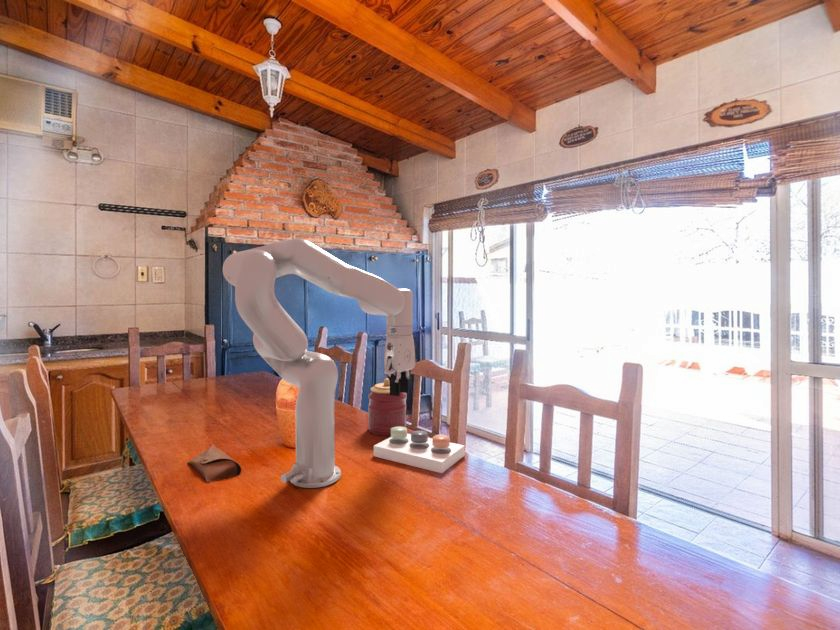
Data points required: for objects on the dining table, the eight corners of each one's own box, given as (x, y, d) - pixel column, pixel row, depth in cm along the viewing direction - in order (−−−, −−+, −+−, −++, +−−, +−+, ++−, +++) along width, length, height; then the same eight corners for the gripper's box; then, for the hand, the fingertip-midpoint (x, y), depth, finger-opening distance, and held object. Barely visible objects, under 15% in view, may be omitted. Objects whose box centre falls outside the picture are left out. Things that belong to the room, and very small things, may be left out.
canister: (386, 439, 138) (386, 384, 137) (359, 430, 146) (359, 378, 145) (414, 429, 147) (414, 378, 146) (388, 421, 156) (388, 373, 155)
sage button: (401, 439, 124) (401, 432, 124) (387, 436, 126) (387, 429, 126) (410, 434, 128) (410, 428, 128) (396, 432, 131) (396, 425, 130)
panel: (441, 473, 112) (442, 461, 112) (373, 456, 124) (373, 445, 123) (464, 455, 124) (464, 444, 124) (400, 441, 136) (400, 431, 135)
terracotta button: (444, 449, 117) (444, 441, 117) (429, 445, 119) (429, 438, 119) (452, 443, 121) (452, 436, 121) (437, 440, 123) (437, 433, 123)
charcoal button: (422, 444, 120) (422, 437, 120) (407, 441, 123) (407, 434, 123) (430, 439, 125) (430, 432, 124) (416, 436, 127) (416, 429, 127)
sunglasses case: (183, 462, 118) (196, 438, 120) (207, 468, 123) (219, 446, 125) (207, 483, 105) (221, 456, 107) (233, 490, 110) (245, 464, 112)
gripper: (394, 334, 116) (393, 401, 117) (425, 329, 131) (424, 389, 132) (371, 333, 120) (371, 398, 121) (404, 328, 135) (403, 386, 136)
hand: (399, 393), depth 127 cm, fingers open, 3 cm apart
